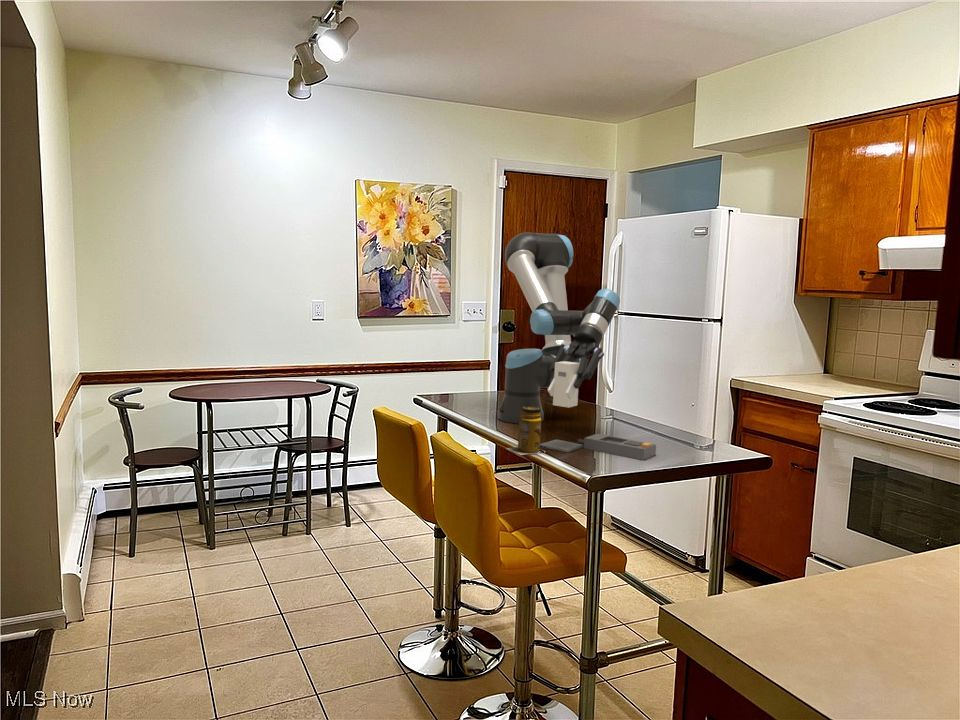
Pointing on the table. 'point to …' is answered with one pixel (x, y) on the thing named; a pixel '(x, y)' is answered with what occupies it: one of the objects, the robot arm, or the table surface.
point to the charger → (564, 383)
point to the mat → (561, 445)
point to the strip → (619, 446)
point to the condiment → (528, 431)
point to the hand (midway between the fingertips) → (559, 394)
